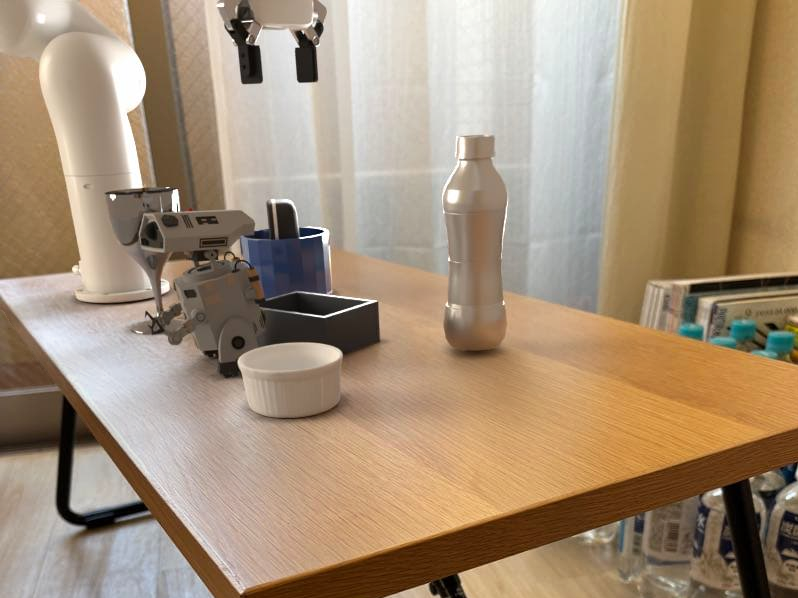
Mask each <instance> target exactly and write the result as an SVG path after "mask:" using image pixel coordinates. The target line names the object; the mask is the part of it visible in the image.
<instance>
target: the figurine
mask: <svg viewBox="0 0 798 598" xmlns="http://www.w3.org/2000/svg"><path fill="white" fill-rule="evenodd" d="M254 230H256V222H255V220H254V219H253V217H251V216H250V215H248V214H247V213H246V212H244V211H243V210H241V209H211V210H194V209H193V207H188V208H187V210H186V211H181V212H160V213H144V214H143V219H142V223H141V227H140V231H139V238H140V242H141V246H142V249H144V250H149V251H154V252H162V253H168V252H173V253H179V252H180V253H181V252H183V255H185V260H186V261H191V262H192V265H193V266H192V267H190V268H187V269H185V270H184V271H183V272H182V273H181V274H182V275H180V276H178V277H176V278H175V279H173V280H172V286H173V290H174V292H175V293H176V295H177V297H178V298H177V299H178V301H179V302H178V303H177V302H173V303H171V304H169V306H168V309H166V310H164V312H163V311H161V312H159V314H158V317H156V316H155V317H154V316H153V315H152V314H151V313H149V312H148V310H145V312H144V319H146V317H148V318H149V320H152V326H150V325H148V326H149V327H150V329H151V332H152V334H151V335H152V336H155V335H158V334H163V335H165V337H167V341H168V343H169V344H170V345H171V346H180V344H182V343H183V340H184V338H185V337H187V336H188V335H189V334H190V337H191V340H192V343H193V346H195V348H196V349H197V350H199V352H202V354H203V355H204V356H207V357H208V358H210V359H212V358H213V357H214V356H216V357H218V360H217V373H218V374H219V375H220V376H221V375H222V376H223V377H224V379H225V378H229V377H230V376H232V377H237V376H238V375H239V373H242V372H241V371H240V369H239V366H238V359H239V358H240V356H242V355H243V354H245V353H246V352H248V351H251V350H254V349H257V348H258V344H257V340H256V337H257V336H259V335H260V334H261V333H263V332H264V331H265V330H266V328H265V325H267V324H268V323H267V320H266V317H265V313H264V310H263V309H262V308H261V309H260V307H259V303H263V302H265V301H266V298H265V296H264V293H263V290H262V286H261V283H260V278H259V274H258V272H257V269H256V267H251V265H250V263H248V262H247V261H245V260H242V259H241V257H240V256H236V254H235V253H234V252H232V251H231V250H228V251H226V252H225V253H224V255H223V259H219V256H220V250H225V249H231V247H232V246H233V245H234V244H235V243H236V242H237V241H238V240H240V239H239V238H240V237H241V236H245V235H254ZM228 254H230V255H232V258H231V259H230V260H229V259H226V257H227V255H228ZM200 262H204V263H200ZM242 262H245V263H247V264H248V265H249V267H250V268H248V267H247V266H246V265H244V264H243V263H242ZM182 314H183V315H184V319H185V320H184V321H183V322H182V323H181V324H182V325H183V326H180V327H179V328H178V329H177V330H174V331H171V332H170V331H169V330H167V329H165V328H164V329H163V327H162V326H165V325H169V324H170V322H171V320H172V319H173V318H177V317H180V316H181V315H182ZM155 323H157V325H158V327H159V330H157V331H155V332H153V328H154V325H155ZM160 324H161V325H162V326H161V325H160ZM230 374H231V375H230Z"/></svg>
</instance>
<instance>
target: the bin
mask: <svg viewBox="0 0 798 598" xmlns="http://www.w3.org/2000/svg"><path fill="white" fill-rule="evenodd" d="M259 307H260V309H261V308H262V309H263V310H264V313H265V317H266V320H267V323H268V324H267V325H265V328H266V330H265V331H264V332H263V333H261V334H260V335H259V336H257V337H256V340H257V344H258V348H260V347H264V346H269V345H275V344H283V343H300V342H301V343H303V342H304V343H320V344H326V345H330V346H333V347H336V348H338V349H339V350H340V351H341V352H342V354H343V356H344V355H347V354H350V353H353V352H355V351H358V350H361V349H363V348H366V347H368V346H372V345H374V344H377V343H380V342H381V330H380V312H379V311H380V309H379V301H378V300H373V299H364V298H358V297H357V298H356V297H349V296H340V295H334V294H332V295H325V294H317V293H309V292H301V291H294V292H290V293H287V294H283V295H280V296H276V297H272V298H269V299H266V301H265V302H263V303H259Z"/></svg>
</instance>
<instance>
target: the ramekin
mask: <svg viewBox="0 0 798 598" xmlns="http://www.w3.org/2000/svg"><path fill="white" fill-rule="evenodd" d="M343 356H344V355H343V354H342V352H341V351H340V350H339V349H338V348H336V347H333V346H330V345H326V344H320V343H304V342H303V343H301V342H300V343H283V344H275V345H269V346H264V347H260V348H257V349H254V350H251V351H248V352H246V353H245V354H243V355H242V356H240V358H239V359H238V366H239V369H240V371H241V372H240V373H241V376H242V382H243V386H244V391H245V396H246V401H247V404H248V407H249V408H250V409H251V411H253V412H254V413H256V414H259V415H261V416H264V417H269V418H276V419H297V418H305V417H306V418H307V417H312V416H315V415H320V414H322V413H326V412H328V411H329V410H332V409H333V408H334V407H336V406H337V405H338V404H339V402H340V401H341V394H342V393H341V387H342V385H341V384H342V383H341V382H342V381H341V379H342V364H343V358H344V357H343Z"/></svg>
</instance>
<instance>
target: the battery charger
mask: <svg viewBox="0 0 798 598" xmlns="http://www.w3.org/2000/svg"><path fill="white" fill-rule="evenodd" d="M265 204H266V205H265V206H266V215H267V226H268V228H269V237H270V240H275V239H293V238H300V234H299V227H300V226H299V219H298V218H299V217H298V212H297V208H296V206H295V204H294V202H293V201H292V200H290V199H288V198H287V199H286V198H283V199H282V198H281V199H275V198H271V199H268V200H266V203H265Z"/></svg>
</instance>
